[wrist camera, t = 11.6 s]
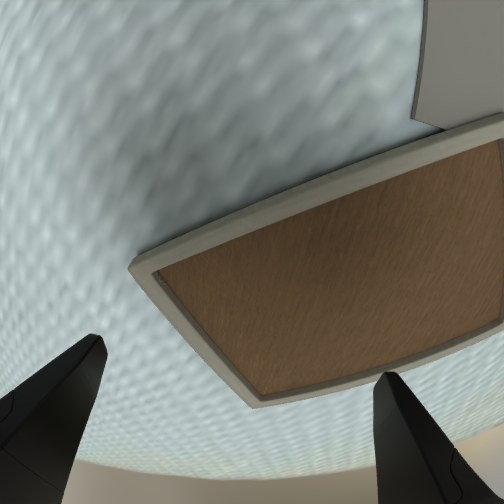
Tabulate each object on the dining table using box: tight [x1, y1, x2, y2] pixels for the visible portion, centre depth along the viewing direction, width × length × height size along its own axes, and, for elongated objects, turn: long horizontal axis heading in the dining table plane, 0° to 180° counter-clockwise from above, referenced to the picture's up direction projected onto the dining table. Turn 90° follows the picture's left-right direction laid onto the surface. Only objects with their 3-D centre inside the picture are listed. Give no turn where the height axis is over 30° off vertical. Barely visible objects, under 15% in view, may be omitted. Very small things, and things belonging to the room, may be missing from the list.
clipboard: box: [128, 113, 504, 409], centre depth 20 cm, size 19×2×30 cm
